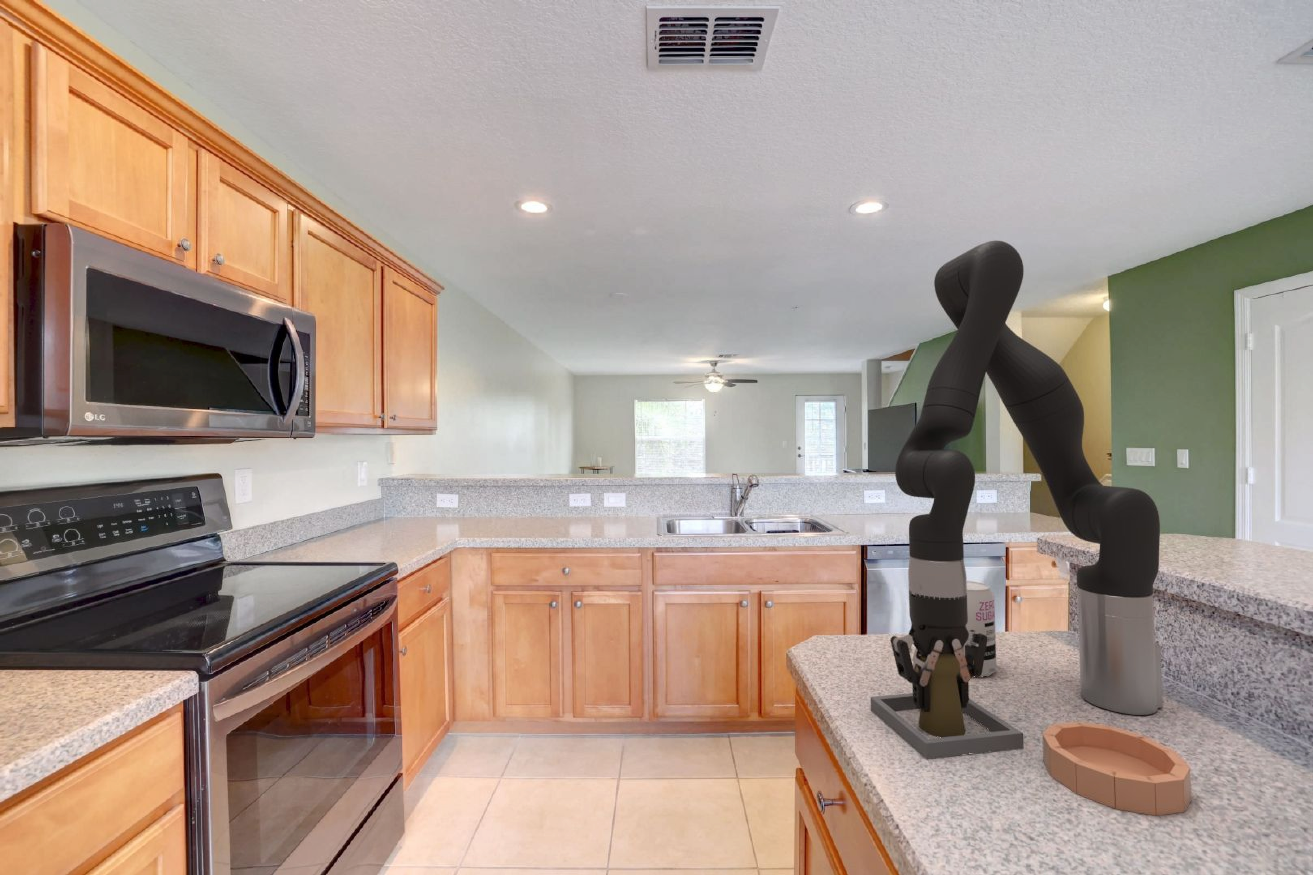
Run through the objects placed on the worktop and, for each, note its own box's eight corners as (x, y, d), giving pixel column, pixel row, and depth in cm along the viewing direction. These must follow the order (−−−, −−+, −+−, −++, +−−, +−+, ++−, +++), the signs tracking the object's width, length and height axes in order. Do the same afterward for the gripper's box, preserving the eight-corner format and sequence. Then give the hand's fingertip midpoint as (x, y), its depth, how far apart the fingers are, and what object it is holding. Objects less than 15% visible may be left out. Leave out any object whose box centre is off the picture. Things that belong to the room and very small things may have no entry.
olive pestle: (972, 740, 78) (969, 659, 78) (924, 736, 80) (922, 657, 80) (958, 719, 84) (955, 644, 84) (914, 716, 85) (911, 642, 86)
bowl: (1110, 744, 76) (1109, 717, 76) (1222, 806, 63) (1221, 774, 63) (1019, 754, 74) (1018, 727, 74) (1116, 821, 61) (1115, 787, 61)
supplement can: (948, 657, 108) (945, 577, 108) (999, 666, 103) (996, 583, 103) (940, 672, 101) (937, 587, 102) (994, 682, 97) (991, 593, 97)
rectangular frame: (954, 701, 90) (953, 688, 90) (1023, 748, 76) (1023, 732, 76) (870, 709, 88) (870, 696, 88) (926, 759, 74) (926, 743, 74)
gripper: (965, 579, 87) (968, 692, 87) (876, 585, 85) (880, 700, 85) (1001, 592, 80) (1005, 715, 79) (905, 598, 77) (909, 724, 77)
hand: (940, 706), depth 82 cm, fingers open, 5 cm apart
